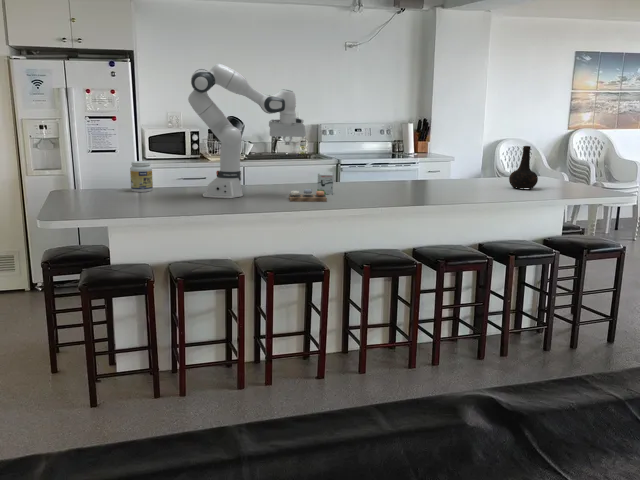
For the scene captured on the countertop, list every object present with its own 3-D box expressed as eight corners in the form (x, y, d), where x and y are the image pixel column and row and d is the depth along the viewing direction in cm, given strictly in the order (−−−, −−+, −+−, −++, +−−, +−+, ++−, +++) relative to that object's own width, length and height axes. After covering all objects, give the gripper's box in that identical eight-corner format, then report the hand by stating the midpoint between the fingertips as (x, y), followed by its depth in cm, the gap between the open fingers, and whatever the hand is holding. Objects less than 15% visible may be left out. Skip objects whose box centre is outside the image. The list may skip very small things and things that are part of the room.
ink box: (319, 194, 352) (319, 174, 350) (316, 193, 357) (317, 173, 354) (333, 194, 355) (333, 174, 352) (331, 193, 359) (331, 173, 357)
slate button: (304, 193, 330) (304, 190, 330) (303, 192, 334) (303, 188, 334) (312, 193, 331) (312, 190, 330) (311, 192, 335) (311, 189, 334)
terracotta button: (316, 195, 331) (316, 191, 331) (316, 194, 335) (316, 190, 335) (324, 195, 332) (324, 192, 331) (323, 194, 336) (323, 190, 335)
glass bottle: (508, 189, 389) (512, 146, 382) (508, 186, 406) (512, 144, 399) (537, 191, 384) (542, 147, 377) (536, 187, 401) (540, 145, 394)
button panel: (290, 201, 327) (290, 197, 326) (289, 197, 338) (289, 193, 338) (326, 201, 329) (326, 197, 328) (324, 198, 340) (324, 194, 340)
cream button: (291, 195, 330) (291, 191, 329) (290, 194, 334) (290, 190, 334) (299, 195, 330) (299, 191, 330) (298, 194, 334) (298, 190, 334)
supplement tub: (139, 193, 343) (138, 163, 339) (126, 190, 350) (125, 161, 346) (157, 190, 353) (156, 161, 349) (144, 188, 360) (143, 160, 356)
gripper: (268, 119, 330) (268, 145, 333) (306, 120, 332) (305, 145, 335) (268, 119, 336) (268, 144, 339) (305, 119, 338) (304, 144, 341)
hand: (287, 144), depth 337 cm, fingers closed
